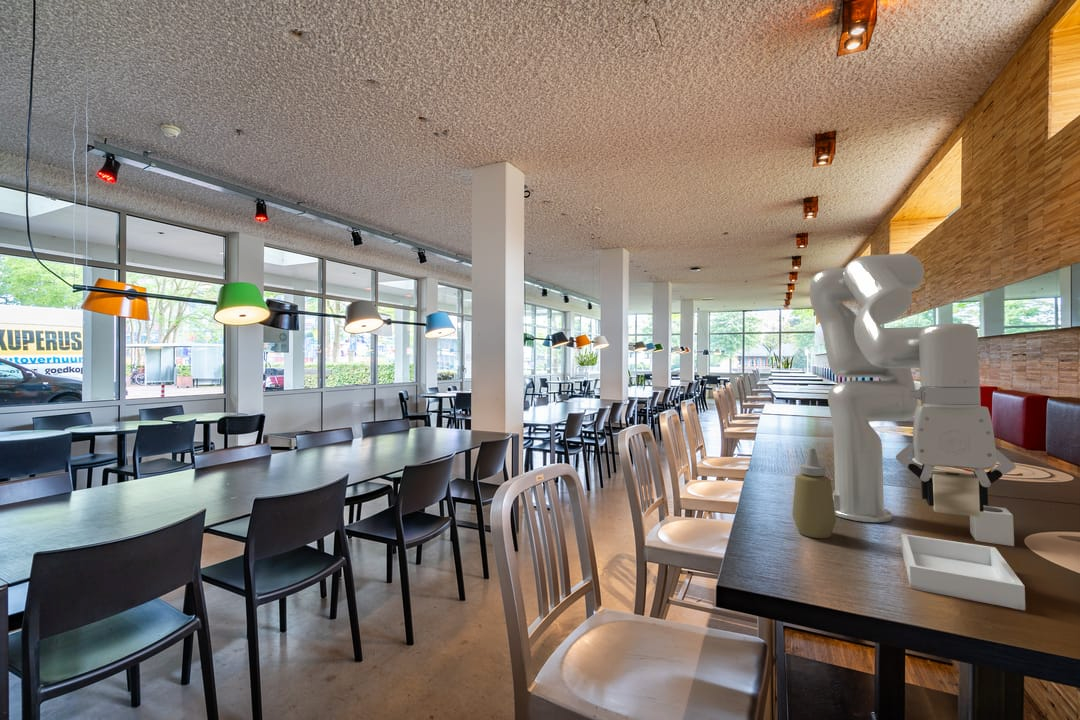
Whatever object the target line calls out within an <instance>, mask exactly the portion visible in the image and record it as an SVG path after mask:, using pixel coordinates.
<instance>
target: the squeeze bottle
mask: <svg viewBox="0 0 1080 720" xmlns="http://www.w3.org/2000/svg"><path fill="white" fill-rule="evenodd" d="M799 468H800V469H799V472H800V473H799V474H797V475H795V480H794V482H795V483H794V491H793V492H794V493H793V501H792V502H793V504H792V505H793V506H792V518H793V521H794V523H795V527H796V529H797V532H798V533H799V534H801V535H803V536H806V537H808V538H809V537H810V538H813V539H814V538H815V539H828V538H831V536H832V534H833V531H834V528H835V525H836V522H837V516H836V515H835V508H834V501H833V494H832V493H833V488H832V487H833V486H832V481H831V479H830V478H829V477H828V476H826V466H824V465H821V464H820V463H819V459H818V454H817V450H816V448H812V447H809V448H808V451H807V456H806V460H805V463H803V464H800V465H799Z"/></svg>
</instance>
